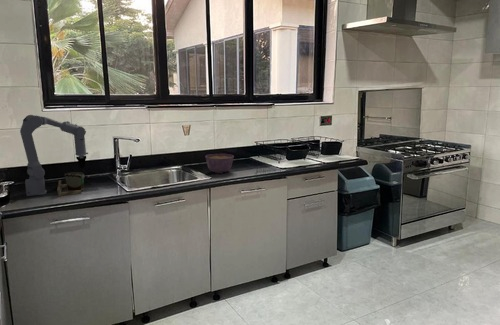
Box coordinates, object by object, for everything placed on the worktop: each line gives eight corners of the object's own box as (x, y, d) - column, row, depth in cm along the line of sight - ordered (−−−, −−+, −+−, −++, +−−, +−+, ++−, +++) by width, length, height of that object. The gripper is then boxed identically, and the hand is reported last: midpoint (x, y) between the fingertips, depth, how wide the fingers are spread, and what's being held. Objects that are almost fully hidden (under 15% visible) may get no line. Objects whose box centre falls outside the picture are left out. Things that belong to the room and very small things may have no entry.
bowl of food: (200, 174, 258) (200, 157, 255) (212, 168, 276) (212, 153, 274) (227, 176, 251) (227, 159, 249) (238, 170, 270) (237, 154, 268)
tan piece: (58, 197, 204) (57, 190, 203) (59, 186, 225) (58, 180, 224) (81, 194, 209) (80, 187, 208) (80, 184, 230) (80, 178, 229)
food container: (90, 189, 220) (89, 172, 218) (83, 192, 214) (81, 175, 212) (73, 187, 223) (71, 171, 221) (65, 190, 217) (63, 173, 215)
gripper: (88, 147, 221) (90, 169, 223) (86, 144, 233) (88, 165, 236) (74, 148, 218) (77, 170, 220) (74, 144, 230) (76, 166, 233)
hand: (82, 168), depth 228 cm, fingers closed
